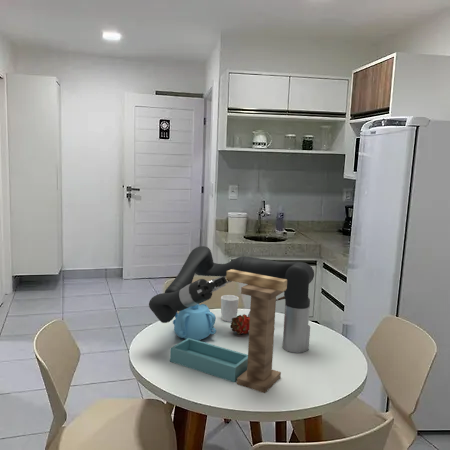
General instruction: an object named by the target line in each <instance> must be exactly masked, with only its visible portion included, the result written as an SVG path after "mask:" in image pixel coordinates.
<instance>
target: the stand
mask: <svg viewBox="0 0 450 450" xmlns="http://www.w3.org/2000/svg"><path fill="white" fill-rule="evenodd" d="M284 291H286V290H284ZM284 291H279V290H274V289H269V288H264V287H259V286H254V285H249V284H245V285H244V286H241V287H240V294H241V295H246V296H250V308H249V312H250V325H249V331H248V332H249V333H248V345H247V348H248V349H247V355H248V364H247V370H246V371H245V372H244V373H243V374H241V375H240V376H239V377H238V378H237V381H236V385H238V386H241V387H245V388H248V389H251V390H254V391H256V392H260V393H263V394H266V393H267V392H268V391H269V390H270V389H271V388H272V387H273V386H274V385H275V384H276V383H277V382H278V381H279V380H280V379H281V374H282V372H281V371H278V370H275V369H273V359H274V358H273V357H274V353H273V352H274V341H275V340H274V337H275V322H276V321H275V320H276V305H277V304H276V303H277V301H276V299H277V297H278V296H279V295H281V294H282V293H284Z"/></svg>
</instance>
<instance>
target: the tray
mask: <svg viewBox="0 0 450 450" xmlns="http://www.w3.org/2000/svg"><path fill="white" fill-rule="evenodd" d="M169 350H170V351H169V352H170V353H169V354H170V355H169V362H171V363H173V364H176V365H179V366H183V367H185V368H186V367H187V368H189V369H193V370H194V371H197V372H202V373H203V374H207V375H210V376H212V377H216V378H219V379H223V380H226V381H229V382H232V383H237V378H238V377H239V376H240V375H241V374H243V373H244V372H245V371H246V370H247V364H248V353H243V352H239V351H237V350H232V349H229V348H226V347H222V346H219V345H215V344H212V343H209V342H204V341H201V340H200V341H198V340H194V339H191V338H187V339H185V338H184V340H182V341H180V342H179V343H177V344H175V345H173V346H172V347H170V349H169Z"/></svg>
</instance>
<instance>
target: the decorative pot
mask: <svg viewBox="0 0 450 450" xmlns="http://www.w3.org/2000/svg"><path fill="white" fill-rule="evenodd" d="M216 319H217V318H216V315H215V314H214V312H212V311H211V310H210V308H209V307H208V305H207V304H205V303H200V304H197V305H195V306H191V307H189V308H186V309H184V310H182V311H178V312H177V313H176V315H175V317H174V318H173V319H172V324H173V331H174V333H175V334H176V336H178V337H179V338H180V339H184V340H185V339H187V338H191V339H194V340H198V341H201V340H203V339H206V338H208V337H209V336H210V335H214V334H216V332H217V329H216V328H215V324H216Z"/></svg>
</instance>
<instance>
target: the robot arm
mask: <svg viewBox="0 0 450 450" xmlns="http://www.w3.org/2000/svg"><path fill="white" fill-rule="evenodd" d="M231 269H232V270H238V271H243V272H249V273H254V274H260V275H265V276H271V277H276V278H281V279H287V289H286V291H284V292H283V293H284V294H283V295H284V297H285V299H284V302H285V303H284V315H283V316H284V317H283V318H284V319H283V334H282V348H283V350H285V351H287V352H290V353H295V354H297V353H298V354H299V353H300V354H301V353H304V352H306V351H309V349H310V338H311V325H310V324H309V322H310V321H309V319H310V307H311V306H310V305H311V303H310V302H311V299H310V298H309V288H310V287H309V286H310V284H311V283H312V281H313V280H314V277H315V271H314V269H313V267H312V266H311V265H310V264H309V263H306V262H304V261H276V260H271V259H266V258H259V257H252V256H245V255H244V256H243V255H242V256H238V257H236V258H234V259H232V260H230V261H229V262H226V263H216V262H214V259H213V253H212V251H211V249H210V248H209V247H208V246H205V245H200V246H196V247H194V248H193V249H192V250H191V251H190V253H189V254H188V256H187V258H186V260H185V261H184V264H182V267H181V268H180V271H179V273H178V274H177V275H176V276H175V278H174V279H173V280H172V282H171V283H170V284H169V285H168V287H166V289H165V291H164V292H163V293H158V294H156V295H154V296H152V297H151V298H150V300H149V303H148V307H149V309H150V311H151V312H152V313H153V315H155V317H156V318H157V319H158V321H160V322H161V323H163V324H167V323H169V322H171V321H173V320H174V319H175V315H176V313H178V312H180V311H182V310H184V309H186V308H189V307H191V306H195V305H197V304H199V305H201V304H203V303H204V302H206V301H209V300H210V299H212V297H213V293H214V292H216V291H218V290H219V289H221V288H223V287H225V286H226V284H229V283H231V282H233V281H229V280H226V275H227V271H228V270H231ZM195 274H196V275H198V276H200V277H201V276H202V277H217V278H213V279H210V280H206V279H205V278H199V279H198V280H195V281H193V280H194V277H195Z"/></svg>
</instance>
